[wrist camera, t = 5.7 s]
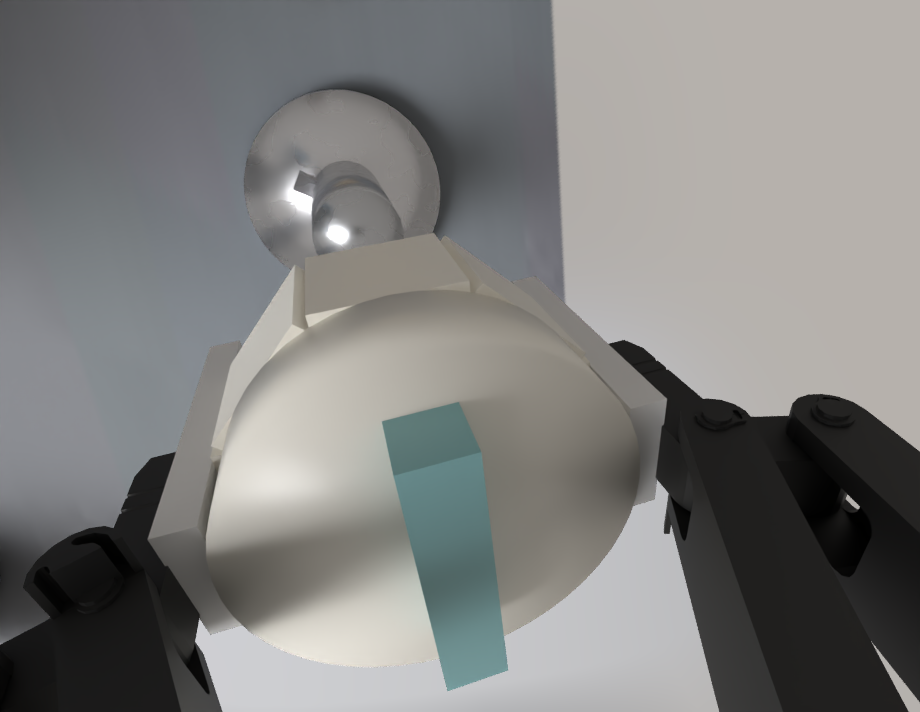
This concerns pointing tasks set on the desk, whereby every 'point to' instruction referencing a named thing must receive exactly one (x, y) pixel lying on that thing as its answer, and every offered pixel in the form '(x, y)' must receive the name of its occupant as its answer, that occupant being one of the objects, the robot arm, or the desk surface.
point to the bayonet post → (338, 177)
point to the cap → (411, 463)
